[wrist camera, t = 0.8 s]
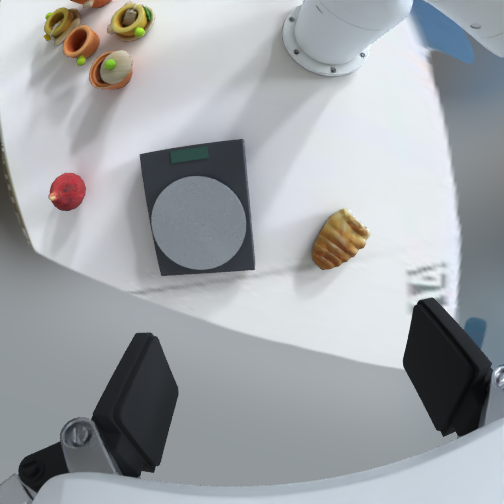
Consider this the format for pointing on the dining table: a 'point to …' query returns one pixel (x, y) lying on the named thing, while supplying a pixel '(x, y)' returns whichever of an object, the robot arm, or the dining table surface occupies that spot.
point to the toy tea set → (87, 41)
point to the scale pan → (198, 222)
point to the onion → (67, 191)
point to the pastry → (339, 240)
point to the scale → (210, 165)
